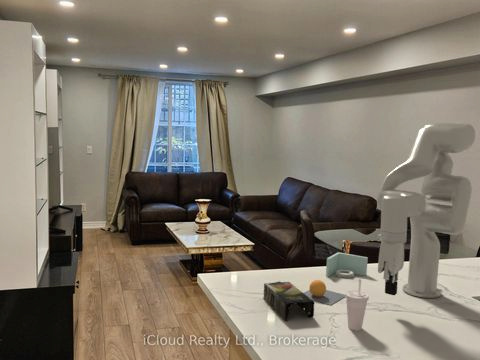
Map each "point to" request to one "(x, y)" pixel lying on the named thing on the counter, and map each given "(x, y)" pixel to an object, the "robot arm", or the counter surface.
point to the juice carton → (286, 298)
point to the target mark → (326, 297)
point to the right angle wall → (346, 265)
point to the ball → (317, 288)
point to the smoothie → (356, 308)
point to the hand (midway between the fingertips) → (390, 293)
